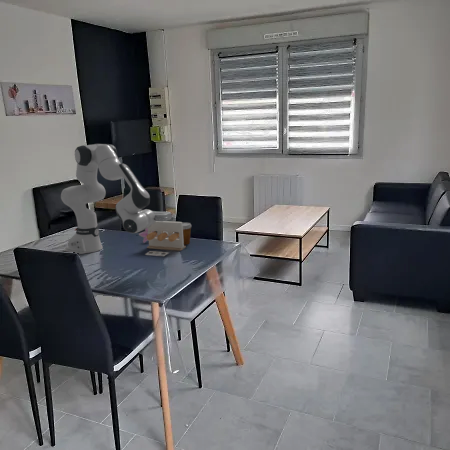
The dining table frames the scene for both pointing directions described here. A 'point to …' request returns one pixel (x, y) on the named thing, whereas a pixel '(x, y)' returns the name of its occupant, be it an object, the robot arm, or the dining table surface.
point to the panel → (170, 228)
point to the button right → (173, 237)
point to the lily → (144, 234)
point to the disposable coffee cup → (186, 232)
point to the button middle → (162, 236)
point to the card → (157, 253)
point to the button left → (151, 235)
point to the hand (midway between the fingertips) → (158, 212)
